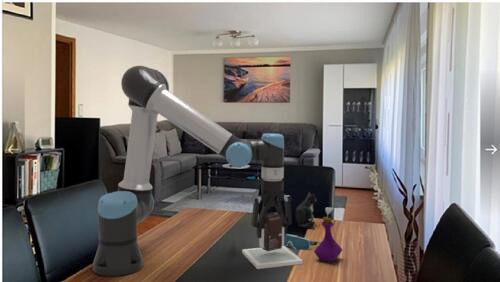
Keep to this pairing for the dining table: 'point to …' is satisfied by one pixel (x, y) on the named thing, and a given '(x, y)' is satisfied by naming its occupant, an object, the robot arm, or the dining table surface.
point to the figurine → (306, 212)
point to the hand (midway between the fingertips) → (271, 245)
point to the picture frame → (271, 257)
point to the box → (272, 231)
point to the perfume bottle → (328, 241)
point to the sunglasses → (298, 242)
